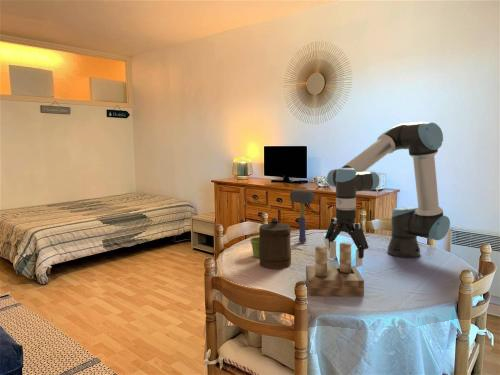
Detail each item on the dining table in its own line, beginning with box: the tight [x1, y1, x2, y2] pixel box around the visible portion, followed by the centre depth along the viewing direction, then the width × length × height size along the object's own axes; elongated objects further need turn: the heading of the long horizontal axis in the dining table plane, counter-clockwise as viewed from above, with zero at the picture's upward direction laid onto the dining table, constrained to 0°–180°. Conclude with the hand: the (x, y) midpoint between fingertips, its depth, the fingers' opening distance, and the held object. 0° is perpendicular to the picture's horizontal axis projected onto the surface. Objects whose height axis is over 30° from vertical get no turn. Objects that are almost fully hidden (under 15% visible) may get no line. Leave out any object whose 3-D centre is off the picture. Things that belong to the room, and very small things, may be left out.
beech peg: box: [339, 241, 352, 274], centre depth 147 cm, size 5×5×14 cm
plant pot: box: [249, 236, 260, 259], centre depth 188 cm, size 9×9×9 cm
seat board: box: [305, 245, 365, 297], centre depth 145 cm, size 20×16×17 cm
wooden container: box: [258, 217, 292, 270], centre depth 175 cm, size 15×15×22 cm
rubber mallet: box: [289, 189, 315, 244], centre depth 208 cm, size 12×8×30 cm, turn 53°
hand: (345, 261), depth 147 cm, fingers open, 13 cm apart
